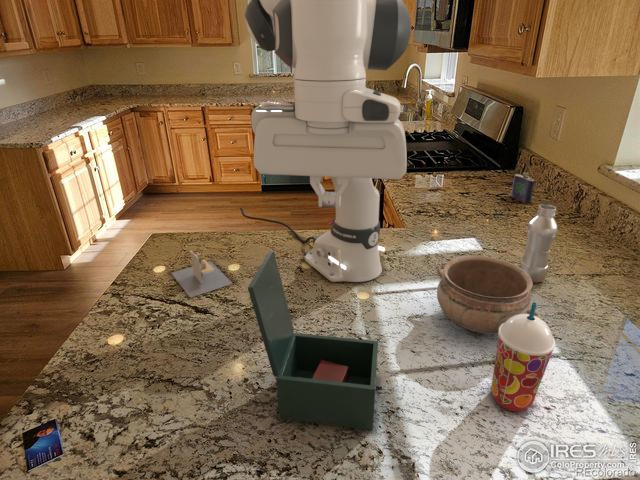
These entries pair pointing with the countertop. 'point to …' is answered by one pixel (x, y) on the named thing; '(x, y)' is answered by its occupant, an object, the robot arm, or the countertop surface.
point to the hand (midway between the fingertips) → (329, 206)
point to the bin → (328, 396)
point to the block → (331, 372)
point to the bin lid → (271, 311)
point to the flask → (522, 188)
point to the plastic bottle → (539, 243)
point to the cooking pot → (483, 292)
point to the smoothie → (521, 360)
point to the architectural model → (200, 277)
